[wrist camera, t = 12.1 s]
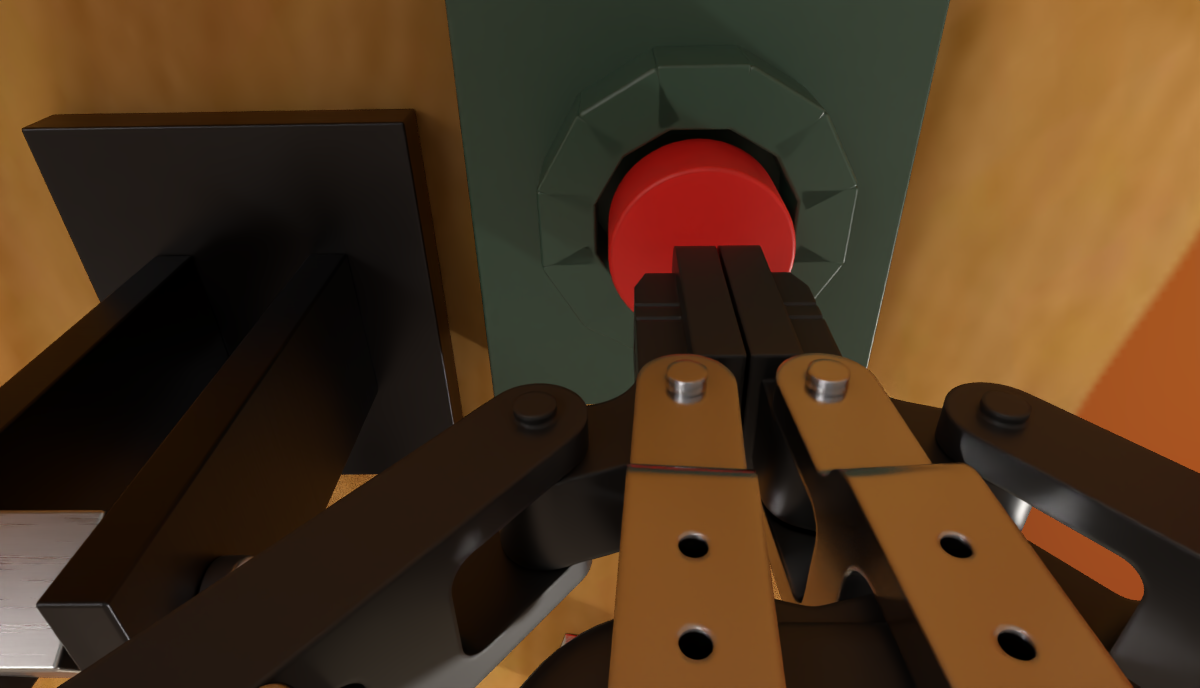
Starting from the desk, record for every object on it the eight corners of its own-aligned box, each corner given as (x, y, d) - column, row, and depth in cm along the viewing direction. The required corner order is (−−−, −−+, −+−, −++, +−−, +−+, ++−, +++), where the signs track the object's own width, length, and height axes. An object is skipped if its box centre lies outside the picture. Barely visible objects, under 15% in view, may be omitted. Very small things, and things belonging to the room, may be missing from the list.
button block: (452, -112, 15) (407, -107, 12) (933, -122, 15) (1026, -121, 12) (504, 360, 22) (485, 449, 18) (839, 357, 22) (881, 446, 18)
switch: (379, 591, 23) (364, 702, 22) (281, 592, 23) (261, 701, 22) (143, 484, 12) (81, 702, 10) (-50, 484, 12) (-138, 702, 10)
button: (607, 138, 14) (606, 168, 13) (788, 135, 14) (809, 166, 13) (609, 296, 16) (609, 338, 15) (769, 294, 16) (784, 336, 15)
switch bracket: (468, 448, 24) (367, 862, 14) (197, 450, 24) (-96, 860, 14) (415, 107, 18) (167, 408, 8) (52, 113, 18) (-642, 415, 8)
